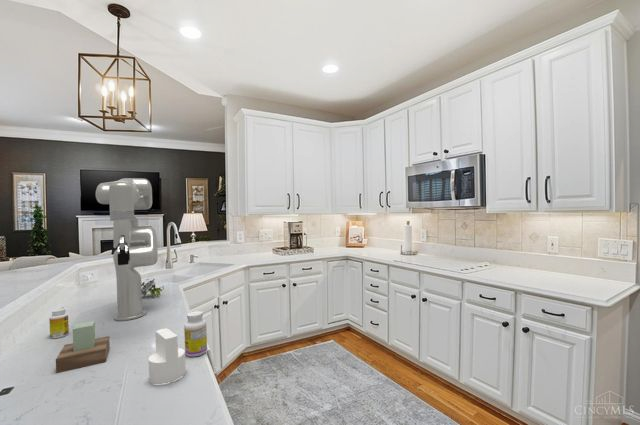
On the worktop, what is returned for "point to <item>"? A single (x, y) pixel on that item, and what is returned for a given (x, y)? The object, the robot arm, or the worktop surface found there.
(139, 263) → the robot arm
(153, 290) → the passion flower
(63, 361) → the walnut base
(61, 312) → the supplement bottle
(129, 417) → the worktop surface
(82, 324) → the sage block
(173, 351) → the base with upright slab
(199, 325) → the supplement bottle
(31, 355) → the worktop surface
